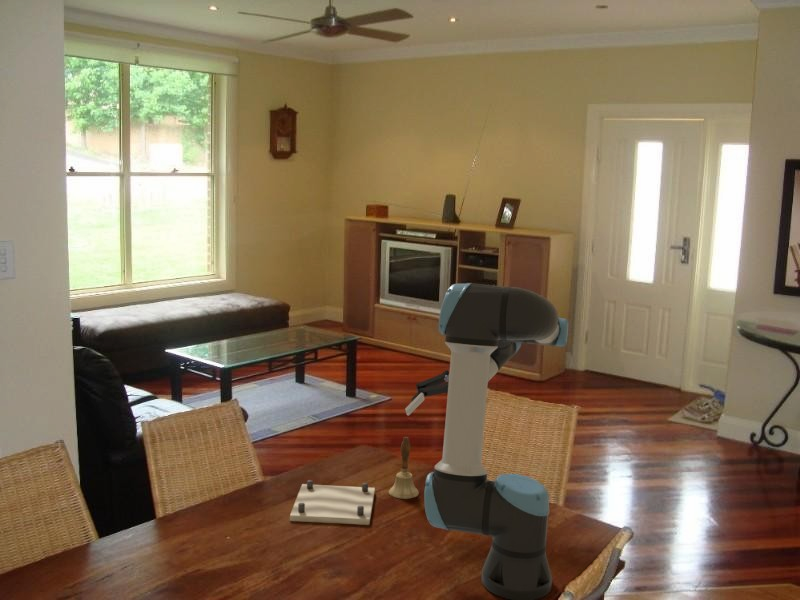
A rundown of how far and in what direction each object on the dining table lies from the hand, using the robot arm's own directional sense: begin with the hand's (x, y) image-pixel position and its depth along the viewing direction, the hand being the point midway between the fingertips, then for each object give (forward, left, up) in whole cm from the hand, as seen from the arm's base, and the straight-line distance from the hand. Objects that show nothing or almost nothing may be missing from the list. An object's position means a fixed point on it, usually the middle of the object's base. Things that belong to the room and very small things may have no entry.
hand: (426, 425), depth 210 cm
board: (-1, +23, -23) cm, 33 cm away
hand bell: (+10, +5, -23) cm, 25 cm away
